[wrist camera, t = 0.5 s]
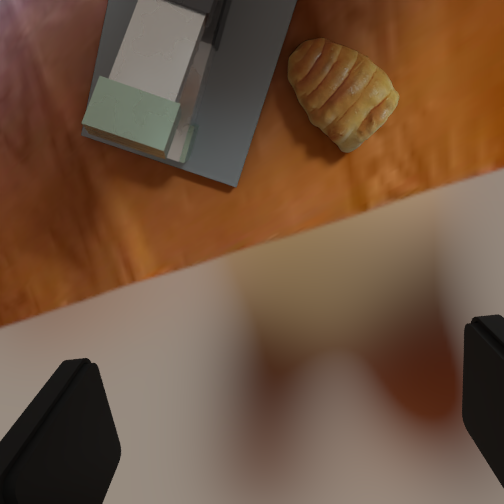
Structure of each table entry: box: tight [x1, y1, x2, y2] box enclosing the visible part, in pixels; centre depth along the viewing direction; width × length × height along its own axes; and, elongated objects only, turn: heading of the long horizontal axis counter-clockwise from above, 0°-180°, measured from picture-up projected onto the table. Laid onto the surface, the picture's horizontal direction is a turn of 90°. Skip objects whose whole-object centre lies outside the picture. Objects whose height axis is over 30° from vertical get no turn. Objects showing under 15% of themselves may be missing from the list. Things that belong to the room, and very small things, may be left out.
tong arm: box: [82, 0, 218, 160], centre depth 26 cm, size 16×5×2 cm, turn 161°
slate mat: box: [81, 0, 297, 187], centre depth 34 cm, size 23×14×1 cm, turn 161°
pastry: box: [288, 38, 399, 152], centre depth 35 cm, size 9×7×4 cm
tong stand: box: [167, 0, 232, 163], centre depth 31 cm, size 22×6×5 cm, turn 161°
